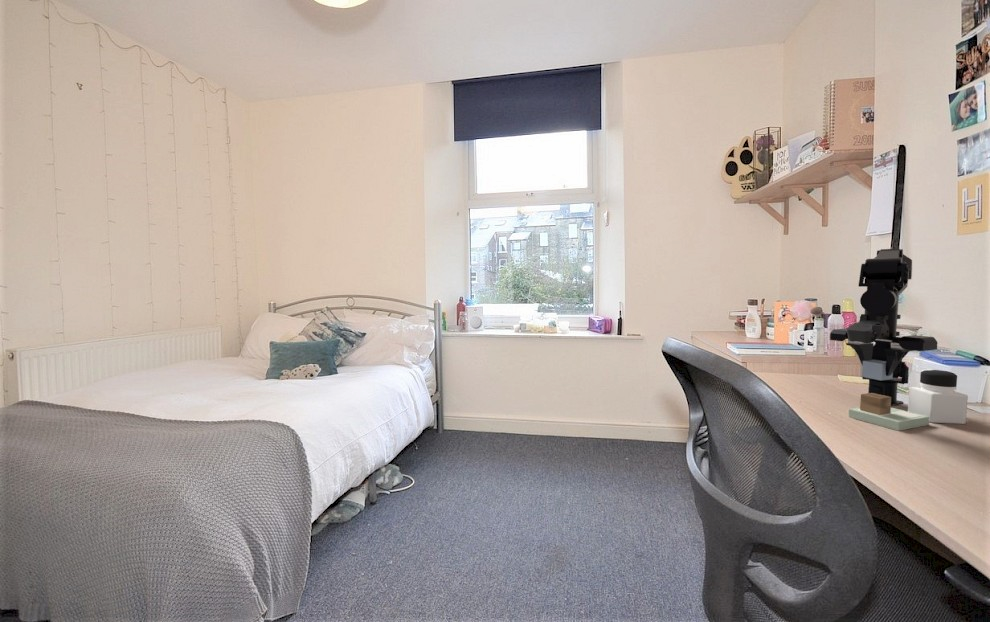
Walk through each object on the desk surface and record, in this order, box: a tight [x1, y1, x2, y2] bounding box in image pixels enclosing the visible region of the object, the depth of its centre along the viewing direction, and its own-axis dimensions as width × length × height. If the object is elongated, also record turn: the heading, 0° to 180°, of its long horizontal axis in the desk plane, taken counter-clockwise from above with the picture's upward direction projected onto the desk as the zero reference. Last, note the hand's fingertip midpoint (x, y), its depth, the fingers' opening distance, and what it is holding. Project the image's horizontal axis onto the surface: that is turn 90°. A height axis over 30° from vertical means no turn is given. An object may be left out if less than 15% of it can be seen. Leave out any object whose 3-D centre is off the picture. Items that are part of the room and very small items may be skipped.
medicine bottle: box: [907, 369, 969, 425], centre depth 99 cm, size 7×7×12 cm
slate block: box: [861, 360, 893, 381], centre depth 98 cm, size 4×4×4 cm
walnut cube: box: [859, 393, 892, 415], centre depth 99 cm, size 4×4×4 cm
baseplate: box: [848, 407, 930, 432], centre depth 98 cm, size 11×10×2 cm
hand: (877, 373), depth 98 cm, fingers closed on slate block, 4 cm apart
